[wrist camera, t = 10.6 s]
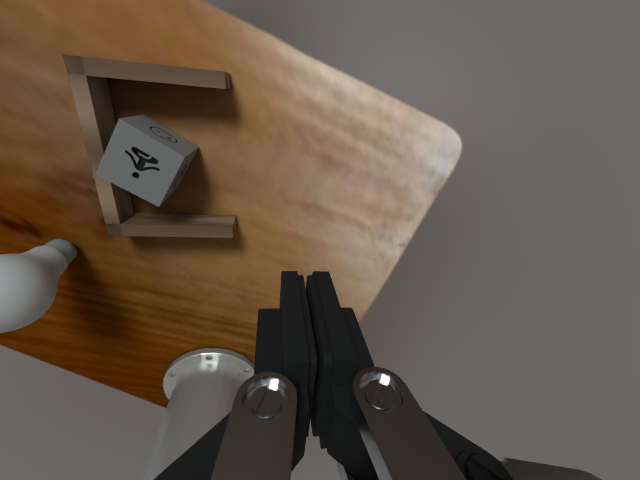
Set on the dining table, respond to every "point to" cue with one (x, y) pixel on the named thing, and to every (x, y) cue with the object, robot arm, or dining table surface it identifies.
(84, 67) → the box
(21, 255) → the lightbulb
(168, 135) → the dice cube
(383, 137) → the dining table surface
